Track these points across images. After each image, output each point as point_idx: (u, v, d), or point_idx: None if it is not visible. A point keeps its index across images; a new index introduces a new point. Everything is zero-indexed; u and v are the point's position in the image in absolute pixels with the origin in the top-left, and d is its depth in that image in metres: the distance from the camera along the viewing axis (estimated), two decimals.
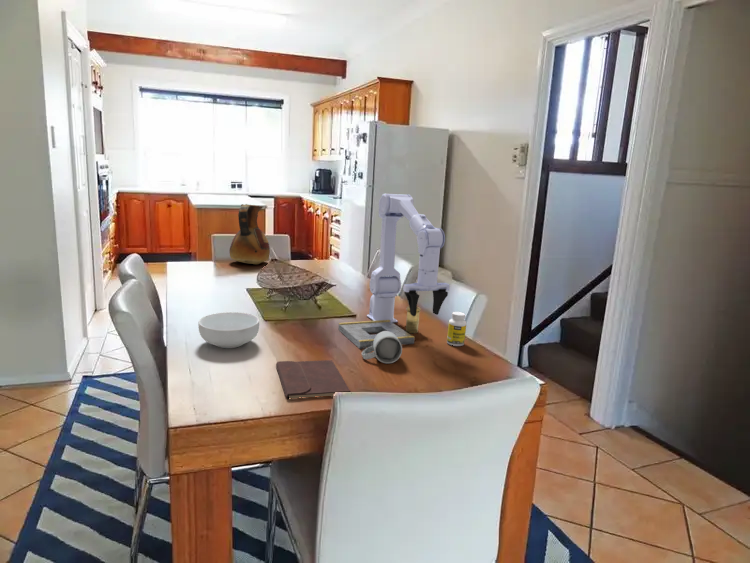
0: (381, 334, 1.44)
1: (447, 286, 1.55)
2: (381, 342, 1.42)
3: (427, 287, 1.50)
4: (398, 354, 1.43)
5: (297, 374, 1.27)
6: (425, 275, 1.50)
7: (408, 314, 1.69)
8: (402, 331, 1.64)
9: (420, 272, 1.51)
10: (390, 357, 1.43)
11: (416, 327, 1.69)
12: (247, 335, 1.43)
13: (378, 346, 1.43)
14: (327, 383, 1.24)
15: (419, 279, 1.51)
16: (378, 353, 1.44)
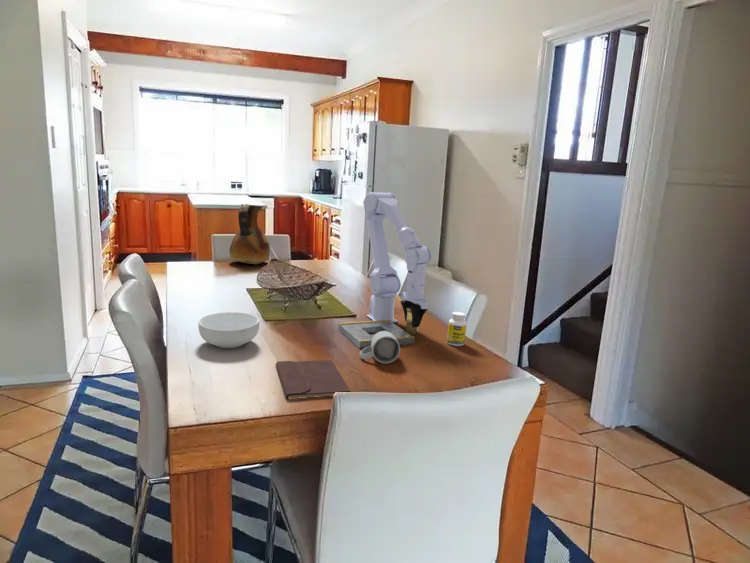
0: (379, 334, 1.44)
1: (421, 304, 1.63)
2: (379, 342, 1.42)
3: (405, 297, 1.69)
4: (396, 354, 1.43)
5: (297, 374, 1.27)
6: None
7: (408, 314, 1.69)
8: (402, 331, 1.64)
9: None
10: (388, 357, 1.43)
11: (416, 327, 1.69)
12: (247, 335, 1.43)
13: (376, 346, 1.43)
14: (326, 383, 1.24)
15: None
16: (376, 353, 1.44)
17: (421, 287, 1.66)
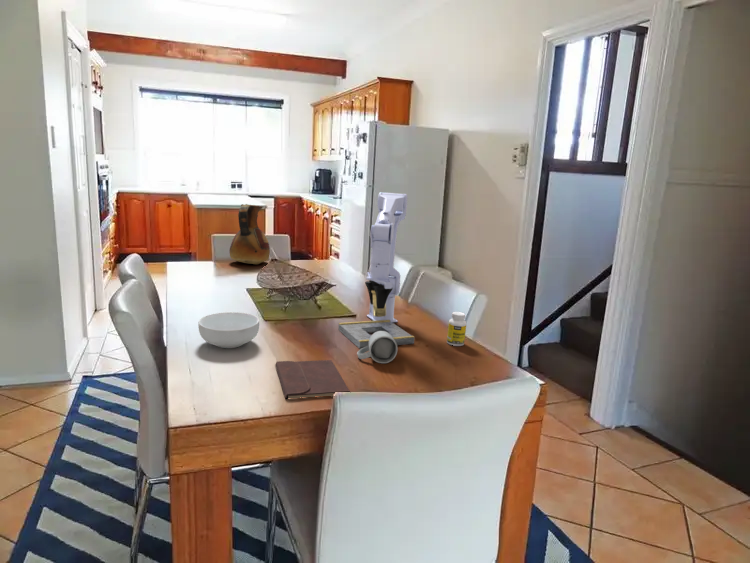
0: (376, 334, 1.44)
1: (384, 284, 1.54)
2: (376, 342, 1.42)
3: (369, 277, 1.60)
4: (393, 354, 1.43)
5: (296, 374, 1.27)
6: None
7: (374, 297, 1.60)
8: (402, 331, 1.64)
9: None
10: (385, 357, 1.43)
11: (383, 309, 1.61)
12: (247, 335, 1.43)
13: (373, 346, 1.43)
14: (326, 383, 1.24)
15: None
16: (373, 353, 1.44)
17: (385, 266, 1.57)
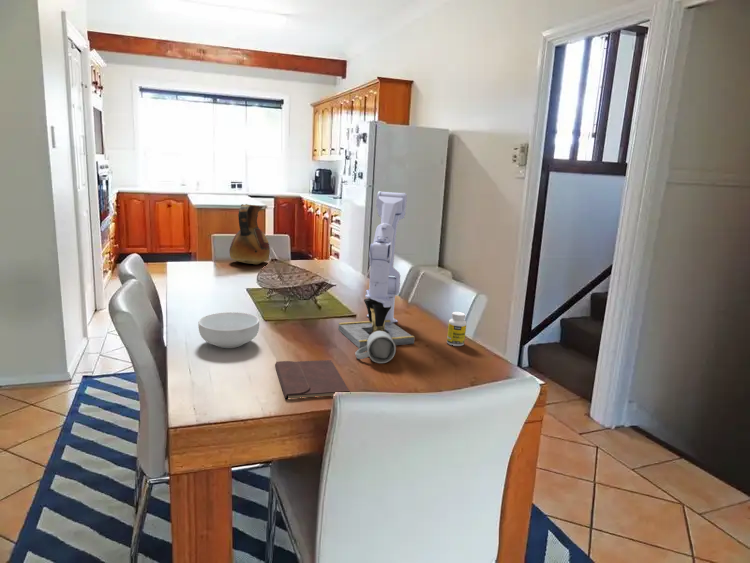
0: (375, 334, 1.44)
1: (383, 302, 1.55)
2: (375, 342, 1.42)
3: (368, 295, 1.61)
4: (392, 354, 1.43)
5: (296, 374, 1.27)
6: None
7: (372, 314, 1.61)
8: (402, 331, 1.64)
9: None
10: (384, 357, 1.43)
11: (382, 327, 1.62)
12: (247, 335, 1.43)
13: (372, 346, 1.43)
14: (326, 383, 1.24)
15: None
16: (372, 353, 1.44)
17: (384, 284, 1.58)
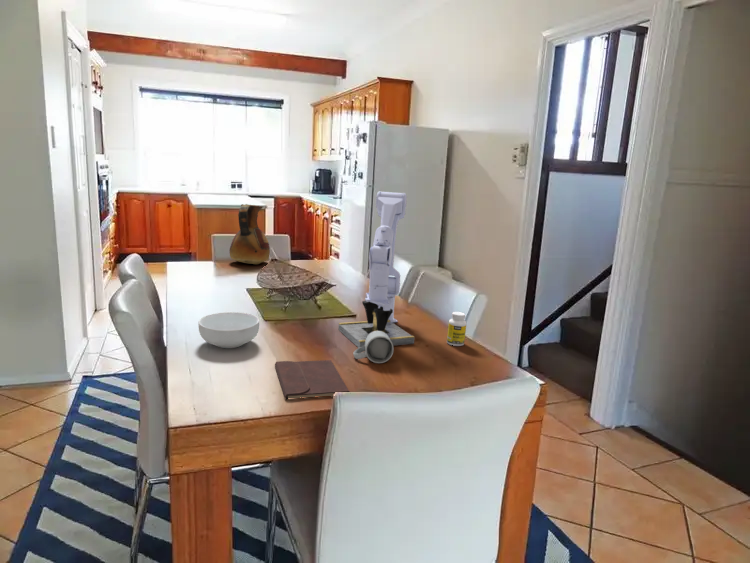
0: (373, 334, 1.44)
1: (383, 306, 1.55)
2: (372, 342, 1.42)
3: (367, 298, 1.61)
4: (390, 354, 1.43)
5: (296, 374, 1.27)
6: None
7: (374, 318, 1.62)
8: (402, 331, 1.64)
9: None
10: (381, 357, 1.43)
11: None
12: (247, 335, 1.43)
13: (369, 346, 1.43)
14: (325, 383, 1.24)
15: None
16: (370, 353, 1.44)
17: (384, 288, 1.58)
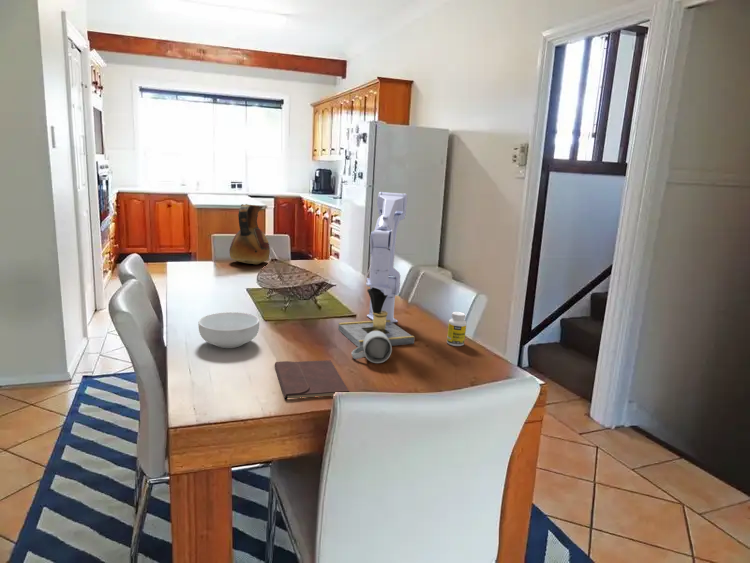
0: (371, 334, 1.44)
1: (384, 290, 1.54)
2: (371, 342, 1.42)
3: None
4: (388, 354, 1.43)
5: (296, 374, 1.27)
6: None
7: (374, 318, 1.62)
8: (402, 331, 1.64)
9: None
10: (380, 357, 1.43)
11: (383, 332, 1.62)
12: (247, 335, 1.43)
13: (368, 346, 1.43)
14: (325, 383, 1.24)
15: None
16: (368, 353, 1.44)
17: (385, 272, 1.57)
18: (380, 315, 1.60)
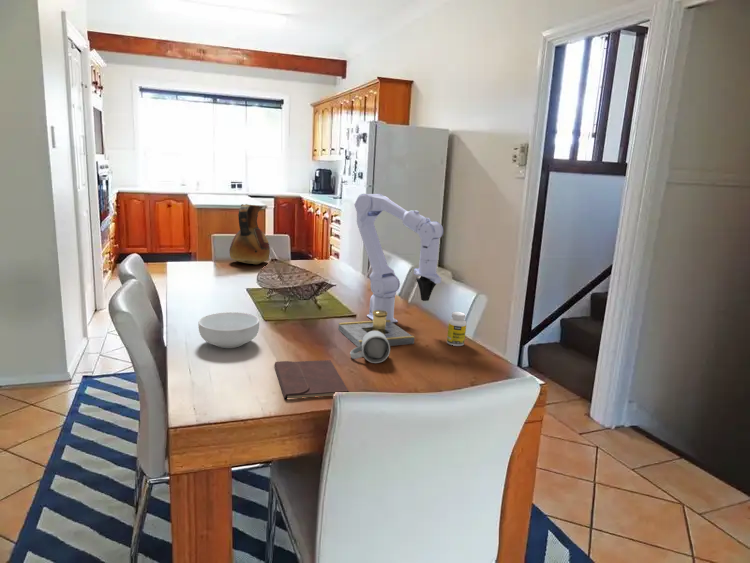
0: (369, 334, 1.44)
1: (434, 279, 1.63)
2: (369, 342, 1.42)
3: None
4: (386, 354, 1.43)
5: (295, 374, 1.27)
6: None
7: (374, 318, 1.62)
8: (402, 331, 1.64)
9: None
10: (378, 357, 1.43)
11: (383, 332, 1.62)
12: (247, 335, 1.43)
13: (366, 346, 1.43)
14: (325, 383, 1.24)
15: None
16: (366, 353, 1.44)
17: (434, 262, 1.66)
18: (380, 315, 1.60)
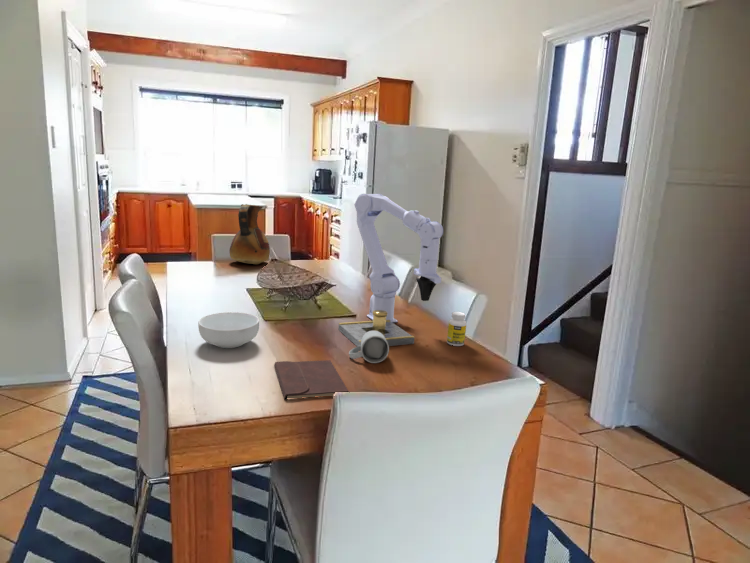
0: (368, 334, 1.44)
1: (434, 279, 1.63)
2: (368, 342, 1.42)
3: None
4: (385, 354, 1.43)
5: (295, 374, 1.27)
6: None
7: (374, 318, 1.62)
8: (402, 331, 1.64)
9: None
10: (377, 357, 1.43)
11: (383, 332, 1.62)
12: (247, 335, 1.43)
13: (365, 346, 1.43)
14: (325, 383, 1.24)
15: None
16: (365, 353, 1.44)
17: (434, 262, 1.66)
18: (380, 315, 1.60)
